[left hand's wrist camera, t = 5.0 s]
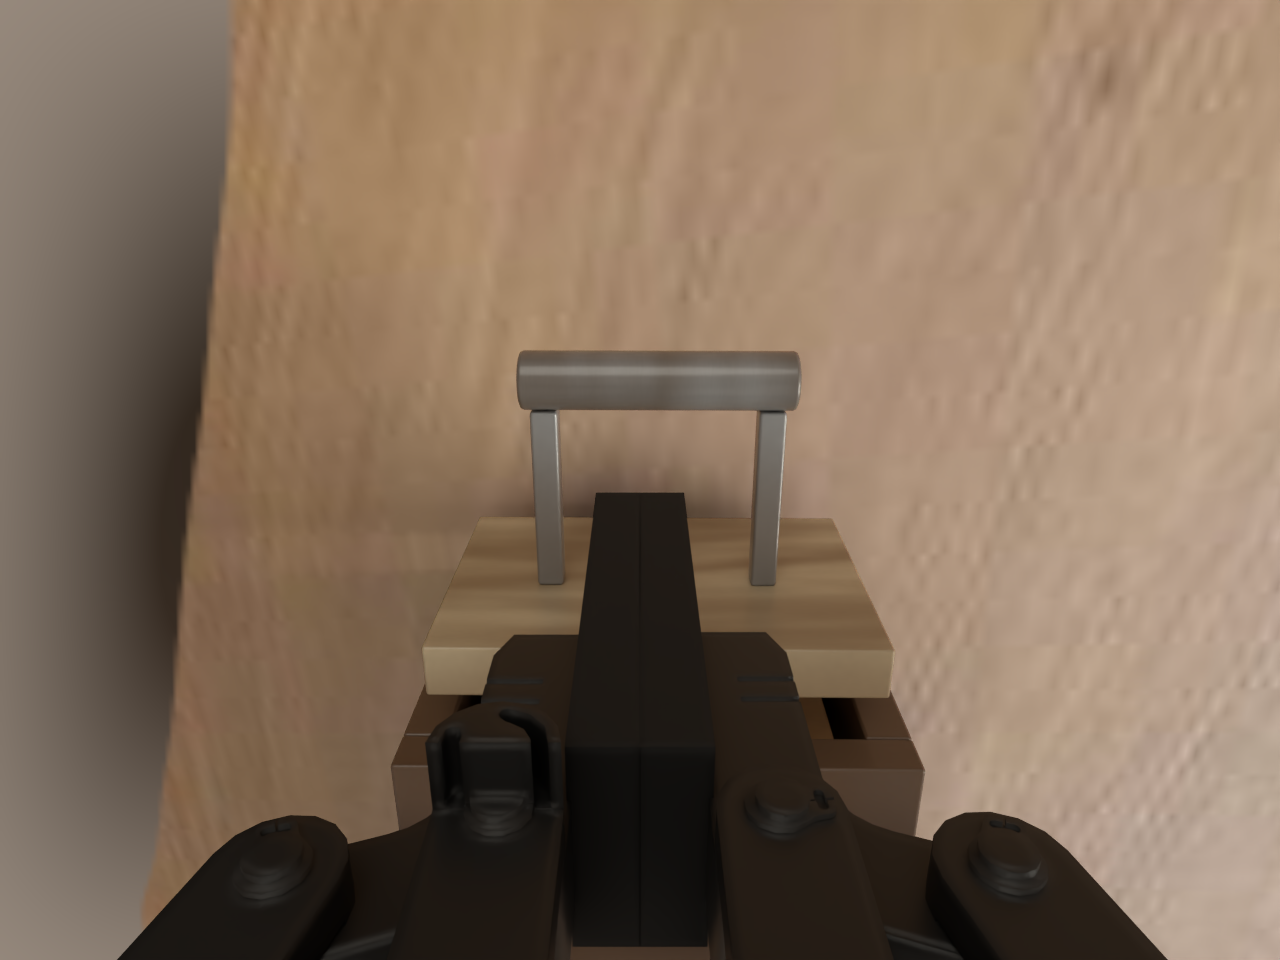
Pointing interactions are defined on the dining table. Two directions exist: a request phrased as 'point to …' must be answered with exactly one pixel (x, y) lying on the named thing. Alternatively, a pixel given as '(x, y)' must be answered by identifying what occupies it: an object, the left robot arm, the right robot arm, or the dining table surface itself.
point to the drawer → (721, 547)
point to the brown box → (851, 762)
